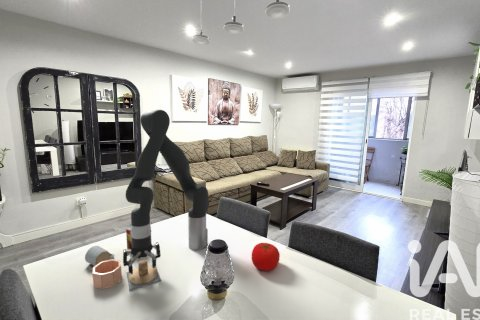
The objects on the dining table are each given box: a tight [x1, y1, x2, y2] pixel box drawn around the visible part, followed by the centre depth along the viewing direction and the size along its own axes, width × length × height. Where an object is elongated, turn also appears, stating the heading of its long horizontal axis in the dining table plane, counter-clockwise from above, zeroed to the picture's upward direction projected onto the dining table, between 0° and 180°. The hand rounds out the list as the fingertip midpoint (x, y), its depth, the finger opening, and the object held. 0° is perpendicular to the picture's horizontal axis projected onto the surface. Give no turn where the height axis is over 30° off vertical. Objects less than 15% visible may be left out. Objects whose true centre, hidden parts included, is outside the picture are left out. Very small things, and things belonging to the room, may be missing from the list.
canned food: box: [125, 224, 132, 250], centre depth 121 cm, size 8×8×12 cm
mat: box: [126, 265, 162, 291], centre depth 100 cm, size 12×12×1 cm
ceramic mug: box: [84, 245, 115, 267], centre depth 109 cm, size 11×8×8 cm
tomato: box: [251, 242, 281, 272], centre depth 109 cm, size 14×13×10 cm
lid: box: [129, 259, 158, 285], centre depth 99 cm, size 11×11×6 cm
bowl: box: [92, 258, 123, 290], centre depth 97 cm, size 10×10×6 cm
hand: (142, 270), depth 99 cm, fingers open, 8 cm apart
